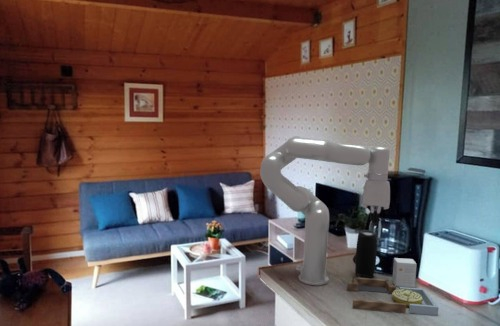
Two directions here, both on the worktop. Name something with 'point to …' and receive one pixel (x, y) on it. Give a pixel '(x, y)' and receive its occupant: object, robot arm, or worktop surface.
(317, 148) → the robot arm
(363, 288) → the mat
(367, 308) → the low maze walls
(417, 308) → the frame
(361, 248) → the portable speaker
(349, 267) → the worktop surface
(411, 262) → the small box
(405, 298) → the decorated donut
